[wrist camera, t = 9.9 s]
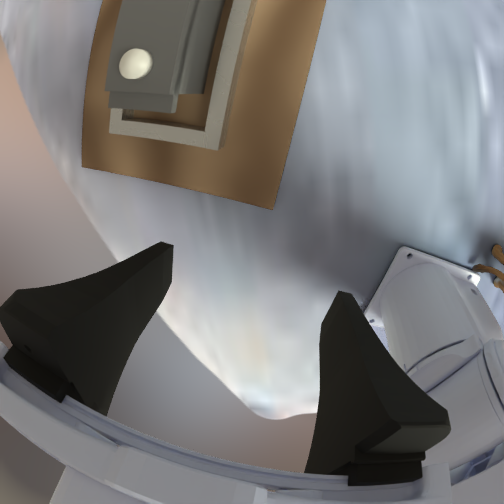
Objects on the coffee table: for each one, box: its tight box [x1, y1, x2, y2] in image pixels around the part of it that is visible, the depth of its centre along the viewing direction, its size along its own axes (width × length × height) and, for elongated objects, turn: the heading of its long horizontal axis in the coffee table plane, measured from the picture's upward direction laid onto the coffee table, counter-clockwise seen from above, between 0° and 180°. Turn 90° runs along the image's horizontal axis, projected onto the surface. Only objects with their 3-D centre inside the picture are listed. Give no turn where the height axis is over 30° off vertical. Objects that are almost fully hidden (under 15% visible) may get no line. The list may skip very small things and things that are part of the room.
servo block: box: [105, 0, 226, 113], centre depth 11 cm, size 4×9×6 cm, turn 168°
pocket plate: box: [82, 0, 326, 210], centre depth 14 cm, size 16×20×2 cm
